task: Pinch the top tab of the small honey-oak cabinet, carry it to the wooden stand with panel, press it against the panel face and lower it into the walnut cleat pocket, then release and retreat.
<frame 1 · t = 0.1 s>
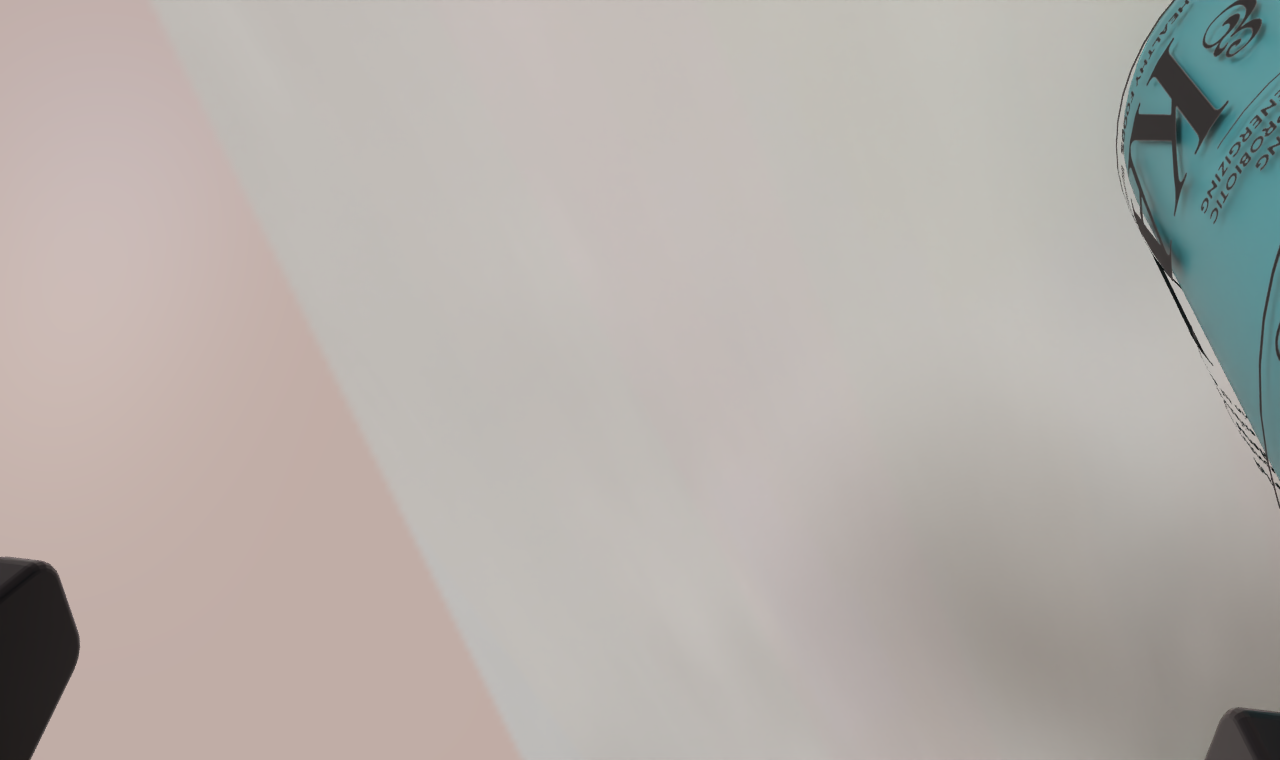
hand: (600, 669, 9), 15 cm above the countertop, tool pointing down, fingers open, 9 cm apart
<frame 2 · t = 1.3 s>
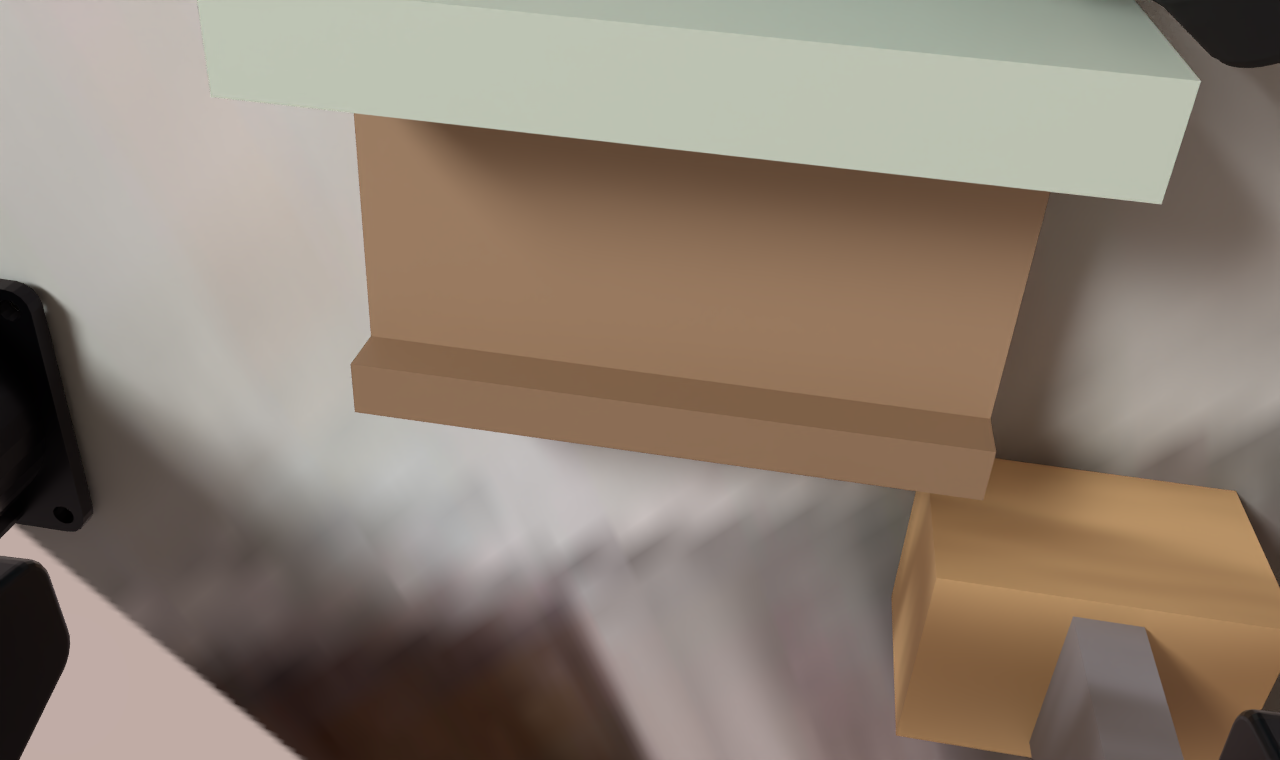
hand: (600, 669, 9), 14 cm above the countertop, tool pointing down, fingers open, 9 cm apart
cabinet: (1053, 544, 24), on the countertop
wooden stand with panel: (715, 23, 19), on the countertop
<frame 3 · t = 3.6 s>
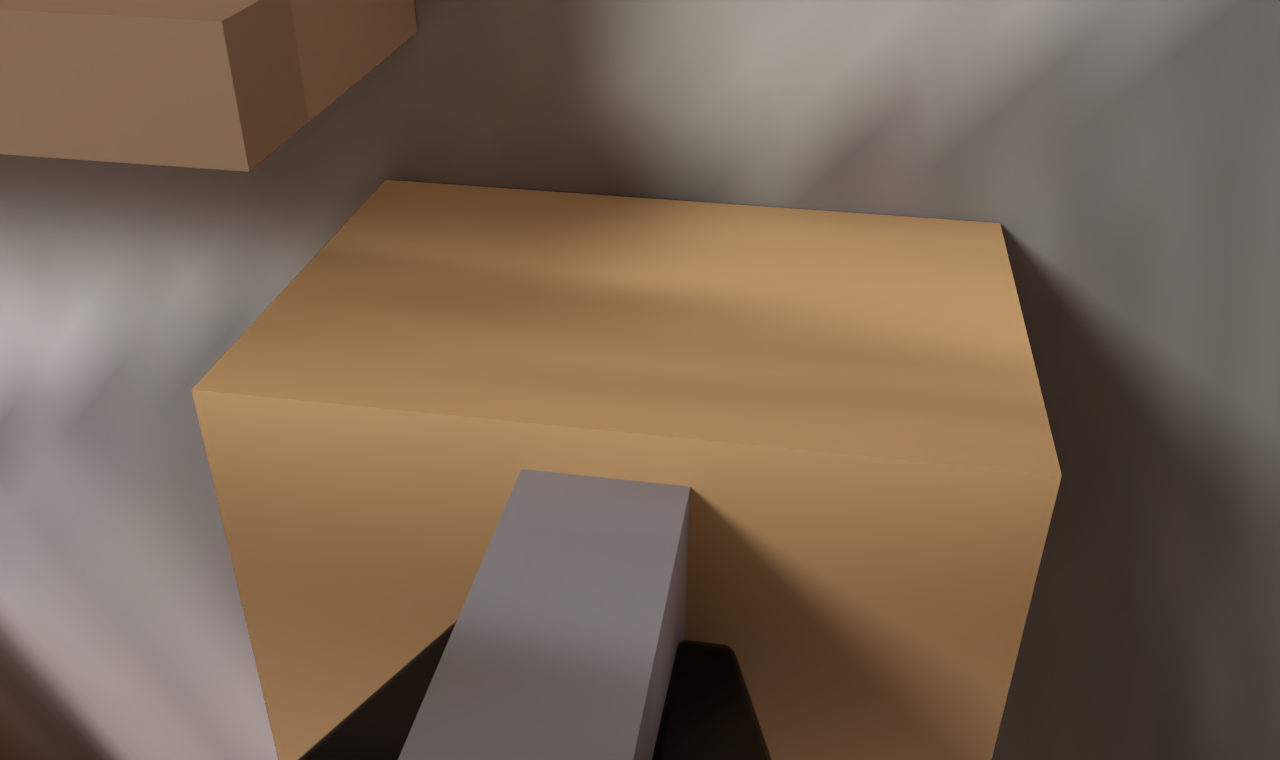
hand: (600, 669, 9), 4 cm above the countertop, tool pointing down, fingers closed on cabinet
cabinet: (677, 376, 12), on the countertop, touching gripper
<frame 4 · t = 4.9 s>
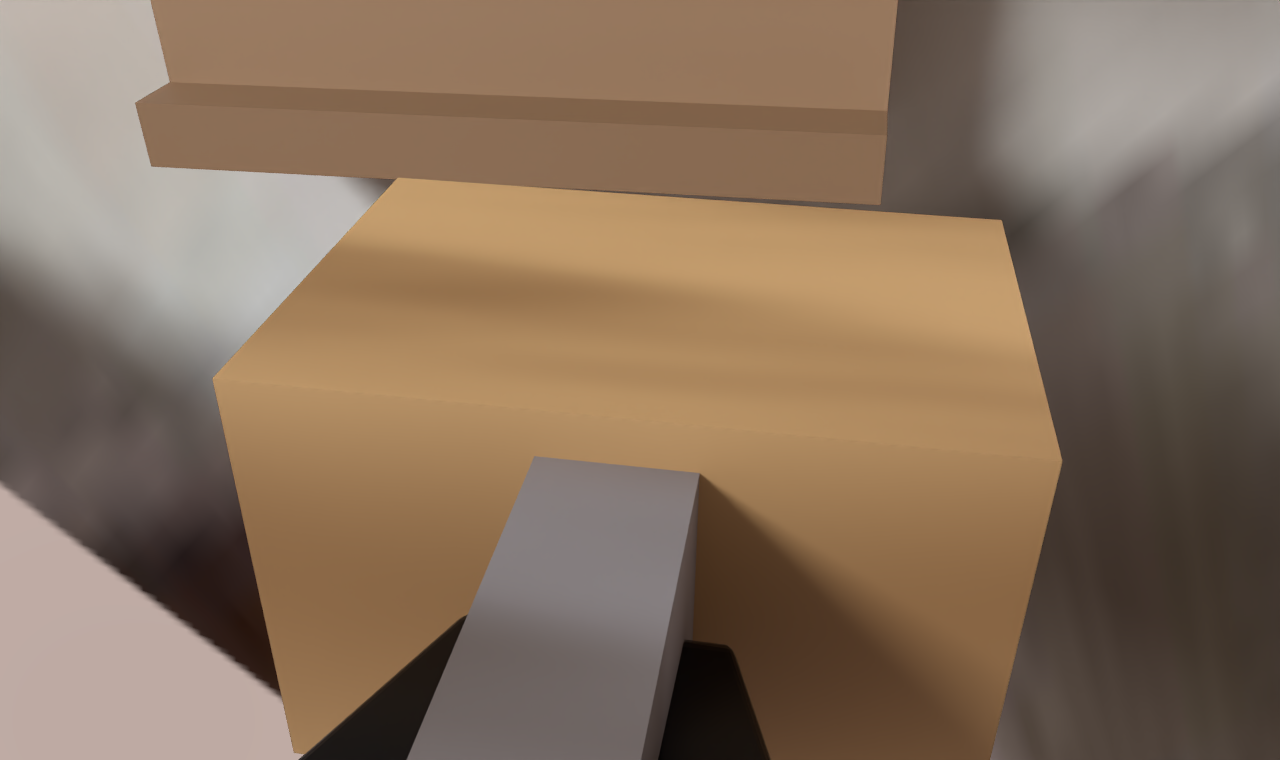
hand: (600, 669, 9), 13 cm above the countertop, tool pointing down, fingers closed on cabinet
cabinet: (683, 371, 12), point 8 cm above the countertop, touching gripper
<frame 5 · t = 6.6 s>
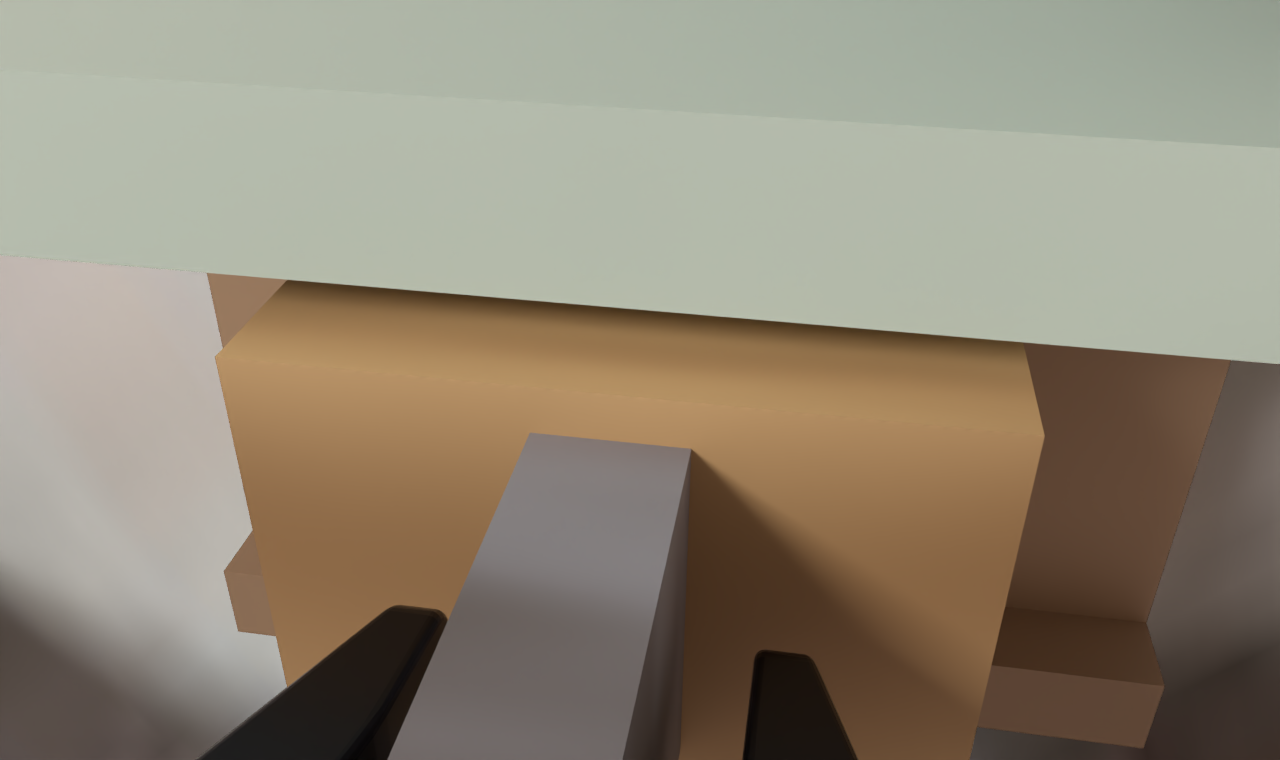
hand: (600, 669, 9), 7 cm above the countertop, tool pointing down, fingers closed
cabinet: (678, 354, 13), point 2 cm above the countertop, touching wooden stand with panel
wooden stand with panel: (720, 67, 13), on the countertop
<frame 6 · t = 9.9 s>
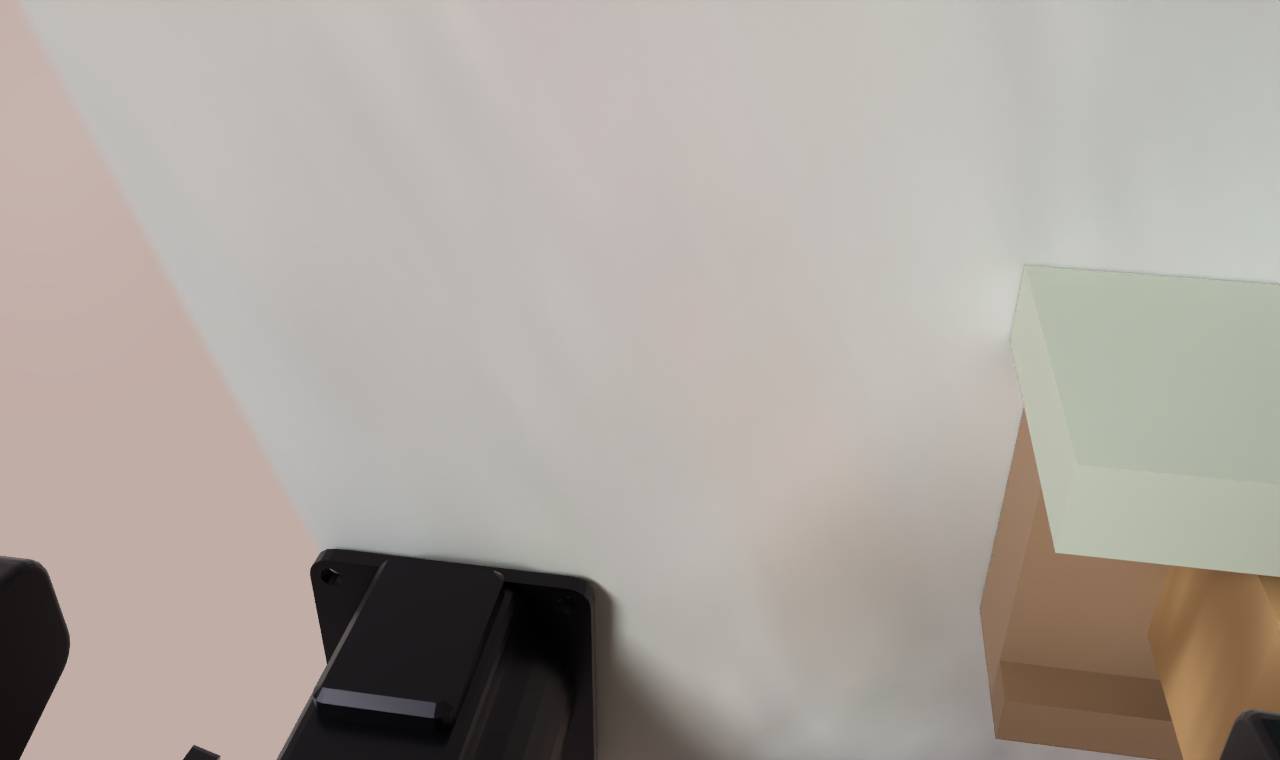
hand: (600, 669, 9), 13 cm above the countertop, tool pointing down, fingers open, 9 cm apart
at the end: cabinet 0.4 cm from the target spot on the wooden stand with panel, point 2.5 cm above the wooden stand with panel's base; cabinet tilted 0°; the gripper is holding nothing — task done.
